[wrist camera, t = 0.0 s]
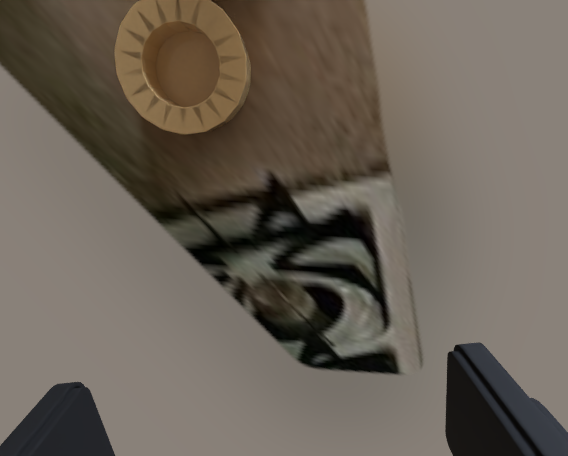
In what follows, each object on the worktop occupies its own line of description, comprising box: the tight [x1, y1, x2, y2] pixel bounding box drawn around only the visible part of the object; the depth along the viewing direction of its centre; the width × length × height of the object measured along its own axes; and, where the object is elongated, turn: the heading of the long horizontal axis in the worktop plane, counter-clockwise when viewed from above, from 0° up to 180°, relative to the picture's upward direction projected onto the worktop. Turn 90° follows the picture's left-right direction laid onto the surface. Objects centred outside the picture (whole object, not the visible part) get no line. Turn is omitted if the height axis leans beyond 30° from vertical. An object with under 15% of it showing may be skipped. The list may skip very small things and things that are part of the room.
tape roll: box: [114, 0, 251, 135], centre depth 33 cm, size 12×12×4 cm
